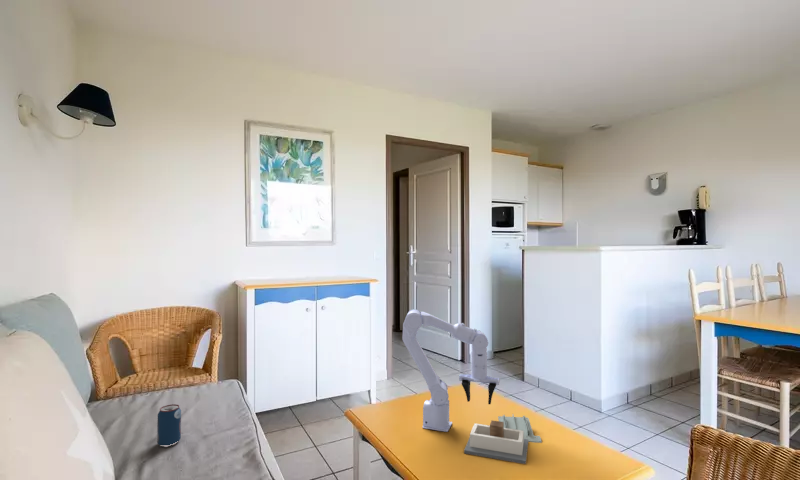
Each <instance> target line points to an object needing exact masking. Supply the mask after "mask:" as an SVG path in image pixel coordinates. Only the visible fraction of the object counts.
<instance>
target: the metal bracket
mask: <svg viewBox="0 0 800 480" xmlns="http://www.w3.org/2000/svg"><path fill="white" fill-rule="evenodd" d="M497 419H498V421H500V422H504V428H509V429H516V430H522V431H524V439H528V443H537V444H539V443H540V444H542V443H543V441H542V437H541V436H540V435H534V431H533V428H532V424H531V422H530V418H529V417H526V415H522V416H515V415H514V414H512V416H506V414H502V415H499V416H497Z"/></svg>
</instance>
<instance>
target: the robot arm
mask: <svg viewBox="0 0 800 480" xmlns="http://www.w3.org/2000/svg"><path fill="white" fill-rule="evenodd" d="M421 326H422V328H428V327H434V328H435V329H439V330H442V331H445V332H448V333H450V334H451V337H452V338H453V339H455V340H457V341H460V342H463V343H465V344H467V345H471V353H470V356H471V357H470V363H471V364H470V371H471V374H467V373H460V374H459V375H458V376H459V377H458V379H459V381H460V382H461V386H462V387H463V390H464V392H465V396H466V401H467V402H470V400H471V383H472V382H473V383H474V382H475V383H481V384H482V383H483V384H488V386H487V387H488V388H487V389H488V400H487V402H488V403H487V404H488V405H491V404H492V398H493V394H494V391H495V389H496V388H497V386H500V377H493V376H489V375H488V356H487V355H488V352H487V350H488V349H487V348H488V346H489V341H488V338H487V336H486V334H485V333H484V332H483V331H481V330H478V329H476V328H474V329H473V328H471V327H468V326H466V324H465V323H464V322H461V323H459V322H458V323H455V324H452V323H451V322H448V321H446V320H444V319H442V318H439V317H437V316H435V315H433V314H431V313H428V312H426V311H420V310H419V309H416V308H415V309H409V311H408V312H407V314H406V316H405V318H404V321H403V323H402V335H401V336H402V338H401V339H402V342H403V344H404V346H405V347H406V349H407V351H408V353H409V355H410V356H411V358H412V360H413V361H414V363H415V365H416V366H417V369H418V370H419V372H420V373H421V375H422V377H423V379H424V380H425V383H426V385H427V388H428V391H429V392H430V398H429V400H428V399H425V401H424V403H423V407H422V428H423V429H427V430H433V431H438V432H445V433H447V432H449V430H450V428H451V427H452V425H453V421H450V400H449V393H448V388H449V387H448V385H447V383H446V382H445V381H444V380H442V379H441V378H440V375H439V374H437V373H436V370H435V368H434V367H433V365H432V363H431V362H430V360H429V359H428V356H427V355H426V353H425V352H424V349H423V348H422V346H421V344H420V343H419V341H418V339H417V334H418V331H419V330H420V328H421Z"/></svg>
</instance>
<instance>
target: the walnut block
mask: <svg viewBox="0 0 800 480" xmlns="http://www.w3.org/2000/svg"><path fill="white" fill-rule="evenodd" d="M489 426H490V436H495V437H501V438H504V422H500V421H499V420H493V419H492V420H490V424H489Z"/></svg>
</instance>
